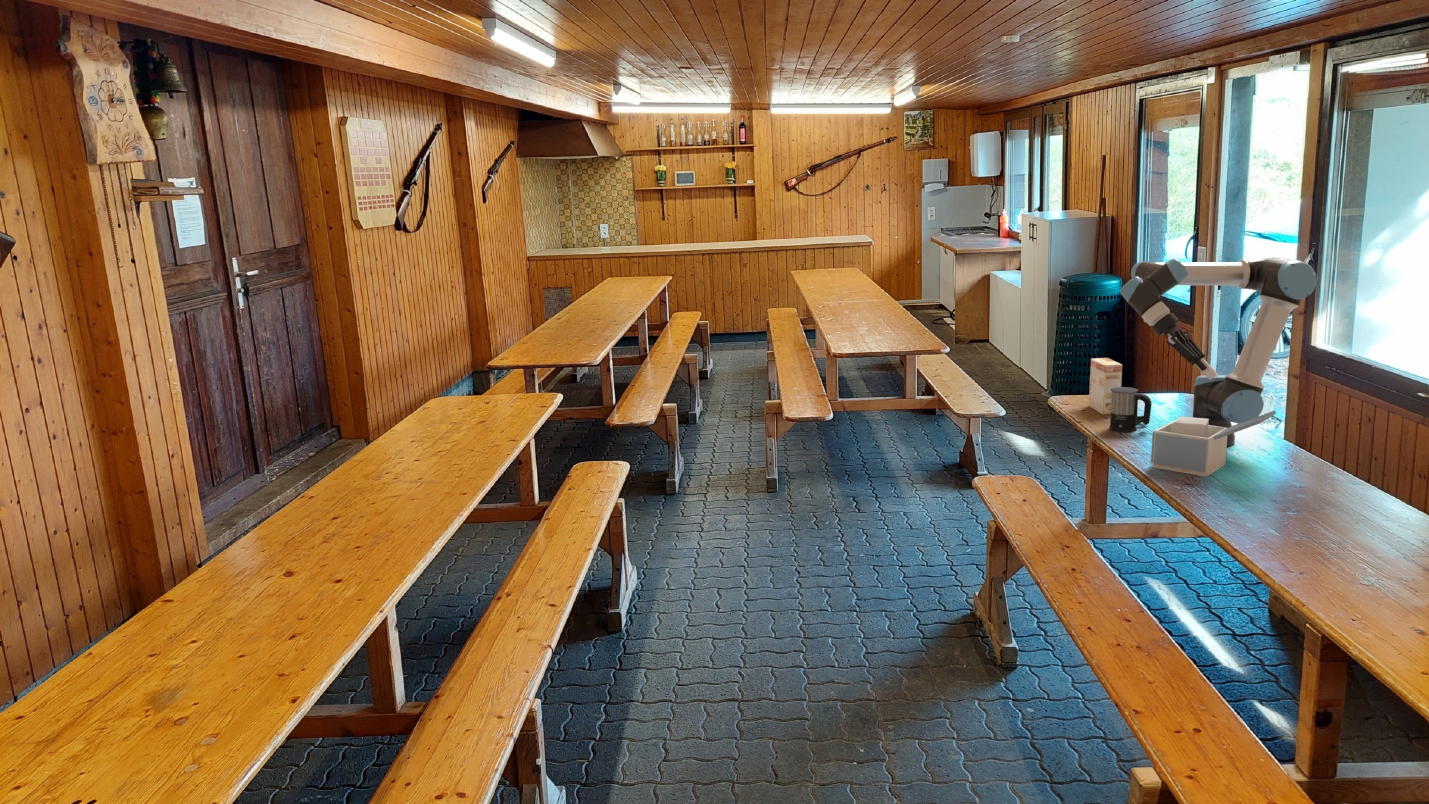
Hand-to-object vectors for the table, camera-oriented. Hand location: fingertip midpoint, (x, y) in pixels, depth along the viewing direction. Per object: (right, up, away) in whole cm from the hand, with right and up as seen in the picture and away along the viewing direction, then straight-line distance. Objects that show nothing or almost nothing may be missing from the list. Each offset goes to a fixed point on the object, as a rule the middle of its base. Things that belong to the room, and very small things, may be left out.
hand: (1213, 377), depth 301 cm
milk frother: (-1, -17, +59) cm, 61 cm away
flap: (+3, -17, +1) cm, 18 cm away
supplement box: (-3, -28, +10) cm, 30 cm away
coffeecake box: (0, -11, +85) cm, 85 cm away
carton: (-3, -28, +10) cm, 30 cm away
